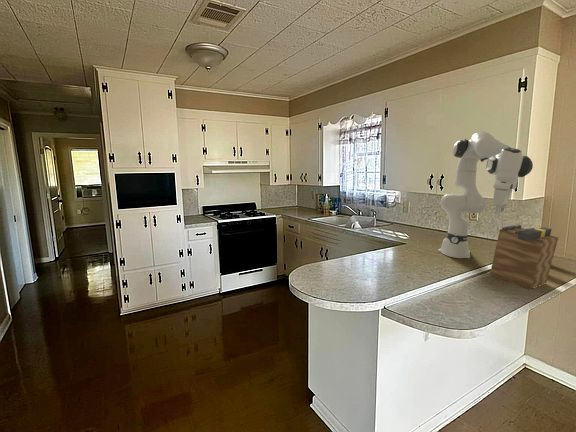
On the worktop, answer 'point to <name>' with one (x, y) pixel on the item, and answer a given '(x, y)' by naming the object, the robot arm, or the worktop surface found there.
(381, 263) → the worktop surface
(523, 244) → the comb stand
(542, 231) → the dark long bar piece
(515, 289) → the worktop surface
